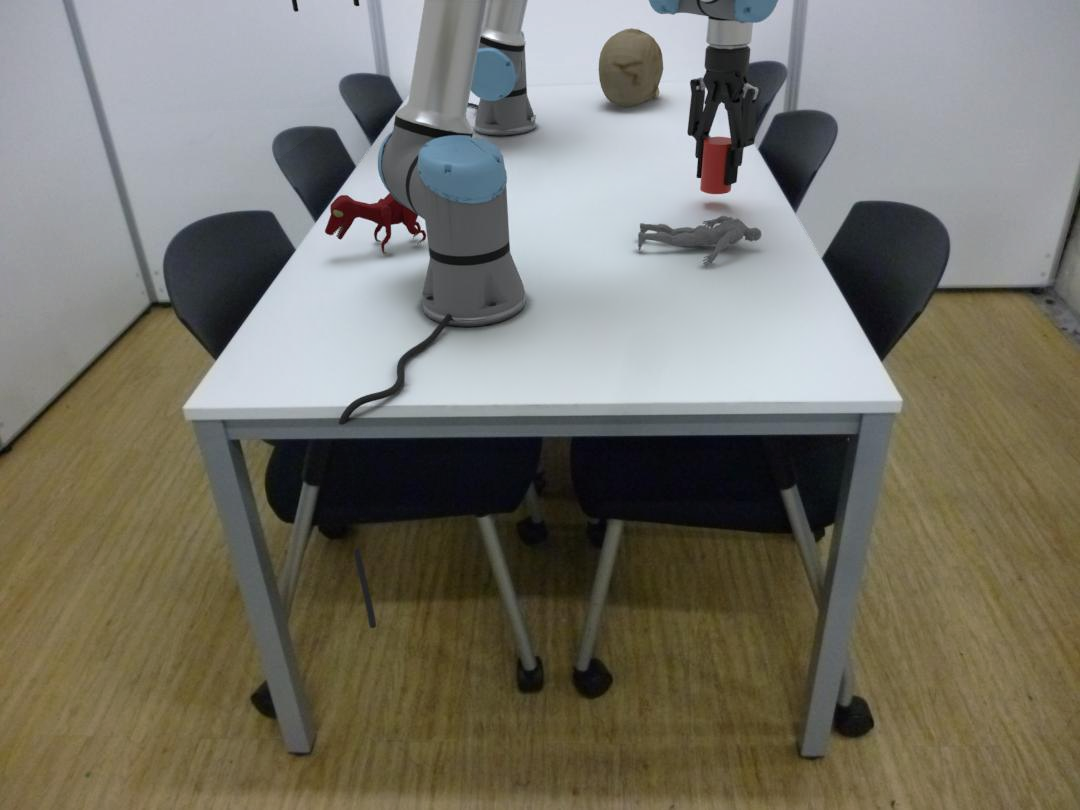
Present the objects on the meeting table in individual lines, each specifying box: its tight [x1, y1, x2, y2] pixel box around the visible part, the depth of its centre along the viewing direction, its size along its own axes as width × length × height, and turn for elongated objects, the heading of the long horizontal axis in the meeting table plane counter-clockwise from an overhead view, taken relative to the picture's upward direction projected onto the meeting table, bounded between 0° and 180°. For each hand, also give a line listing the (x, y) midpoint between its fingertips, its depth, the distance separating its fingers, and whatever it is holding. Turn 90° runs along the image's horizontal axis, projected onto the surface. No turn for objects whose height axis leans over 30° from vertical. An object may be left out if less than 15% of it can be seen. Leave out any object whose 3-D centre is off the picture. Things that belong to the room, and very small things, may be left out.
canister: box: [699, 136, 732, 195], centre depth 153 cm, size 6×6×9 cm
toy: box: [324, 192, 427, 256], centre depth 141 cm, size 7×25×15 cm
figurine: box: [637, 215, 762, 267], centre depth 139 cm, size 17×4×20 cm
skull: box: [598, 27, 664, 108], centre depth 224 cm, size 16×22×25 cm
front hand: (716, 179), depth 154 cm, fingers closed on canister, 6 cm apart
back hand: (326, 8), depth 187 cm, fingers open, 13 cm apart
